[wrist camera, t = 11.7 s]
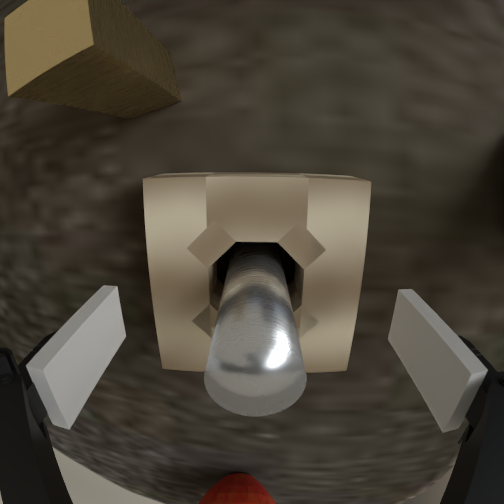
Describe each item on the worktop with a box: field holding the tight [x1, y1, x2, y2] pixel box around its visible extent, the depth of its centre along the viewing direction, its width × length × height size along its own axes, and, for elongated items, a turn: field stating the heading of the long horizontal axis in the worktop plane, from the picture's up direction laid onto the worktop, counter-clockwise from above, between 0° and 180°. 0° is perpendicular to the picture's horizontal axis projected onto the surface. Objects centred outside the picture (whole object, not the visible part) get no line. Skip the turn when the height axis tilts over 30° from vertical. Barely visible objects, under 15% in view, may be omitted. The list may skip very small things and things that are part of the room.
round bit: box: [204, 242, 307, 416], centre depth 16 cm, size 3×3×12 cm
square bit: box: [5, 0, 181, 119], centre depth 12 cm, size 4×4×12 cm
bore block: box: [143, 172, 371, 373], centre depth 20 cm, size 12×12×4 cm
